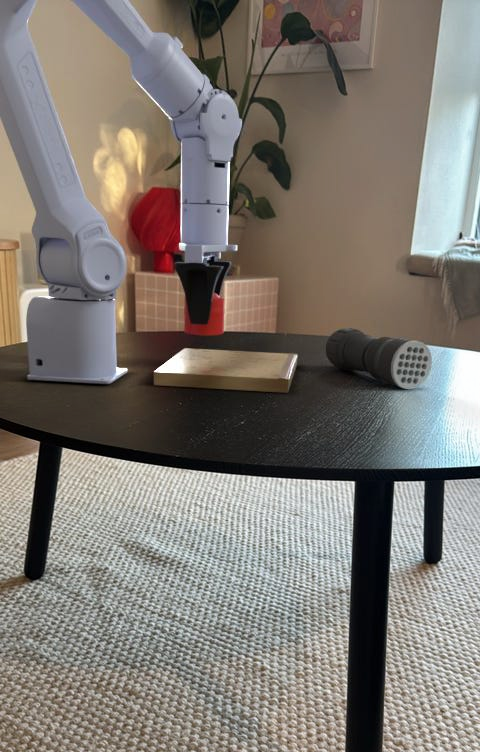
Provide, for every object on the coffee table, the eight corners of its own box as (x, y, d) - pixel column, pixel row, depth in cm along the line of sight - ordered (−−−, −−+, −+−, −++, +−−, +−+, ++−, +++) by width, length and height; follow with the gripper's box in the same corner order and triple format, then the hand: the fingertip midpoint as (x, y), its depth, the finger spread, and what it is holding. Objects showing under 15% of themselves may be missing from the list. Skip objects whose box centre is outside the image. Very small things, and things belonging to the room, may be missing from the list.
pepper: (180, 334, 93) (180, 282, 91) (188, 329, 98) (188, 280, 96) (220, 336, 93) (222, 284, 91) (226, 331, 98) (227, 282, 95)
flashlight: (319, 367, 98) (322, 325, 96) (354, 366, 100) (358, 324, 98) (391, 390, 85) (396, 341, 83) (428, 387, 88) (434, 340, 86)
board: (153, 385, 84) (153, 371, 83) (184, 359, 101) (184, 347, 100) (287, 393, 82) (288, 378, 82) (296, 365, 99) (297, 353, 98)
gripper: (229, 203, 83) (226, 329, 88) (245, 207, 96) (241, 316, 101) (166, 202, 84) (167, 327, 89) (190, 205, 97) (190, 314, 102)
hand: (203, 321), depth 95 cm, fingers closed on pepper, 5 cm apart
